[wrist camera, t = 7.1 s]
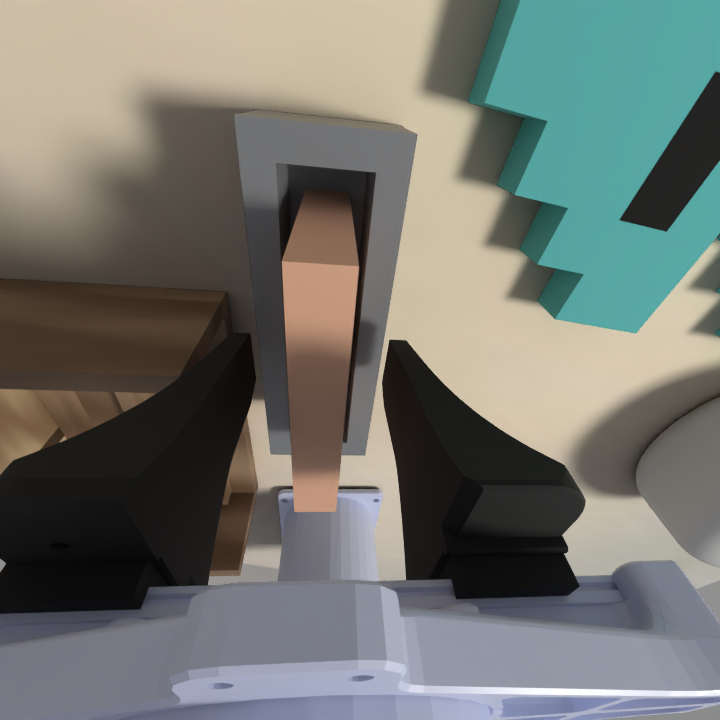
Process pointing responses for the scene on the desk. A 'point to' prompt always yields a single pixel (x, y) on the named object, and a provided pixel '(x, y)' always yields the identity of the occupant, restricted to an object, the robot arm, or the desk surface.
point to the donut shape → (687, 481)
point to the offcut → (22, 424)
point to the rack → (121, 366)
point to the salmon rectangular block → (319, 341)
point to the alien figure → (610, 145)
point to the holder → (275, 223)
